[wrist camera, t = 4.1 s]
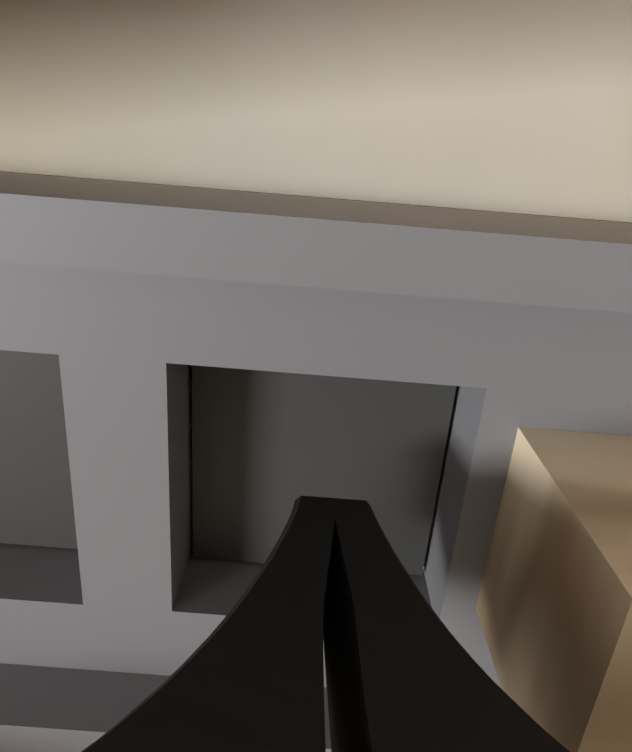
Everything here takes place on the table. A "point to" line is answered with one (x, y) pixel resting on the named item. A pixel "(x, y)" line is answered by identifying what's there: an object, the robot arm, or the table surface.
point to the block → (565, 586)
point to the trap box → (263, 408)
